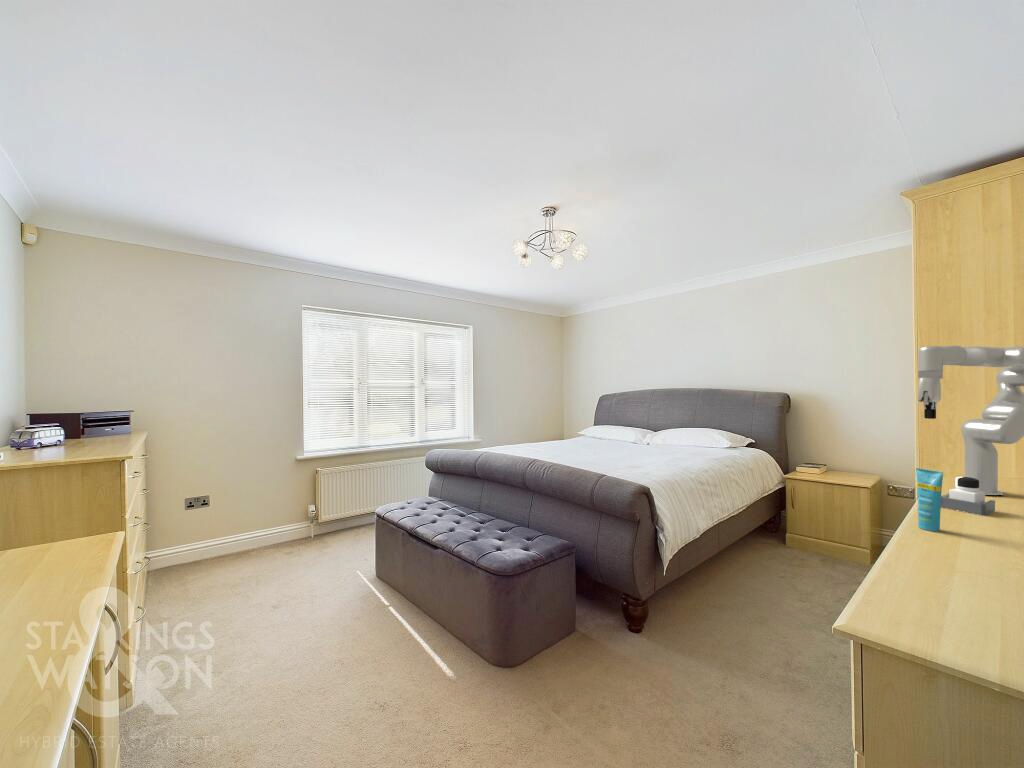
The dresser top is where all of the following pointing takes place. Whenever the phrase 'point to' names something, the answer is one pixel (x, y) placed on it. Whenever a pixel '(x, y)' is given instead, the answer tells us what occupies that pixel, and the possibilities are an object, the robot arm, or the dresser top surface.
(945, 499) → the box
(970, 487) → the medicine bottle
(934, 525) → the tube
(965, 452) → the robot arm
